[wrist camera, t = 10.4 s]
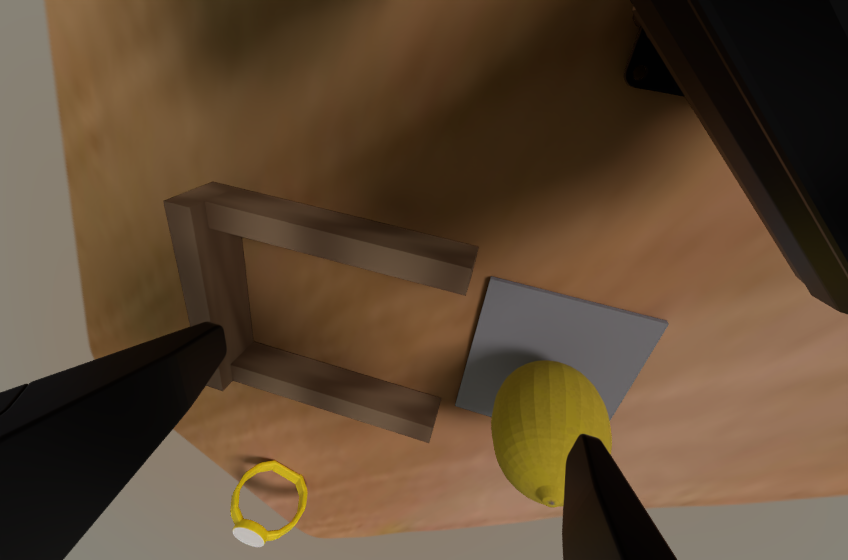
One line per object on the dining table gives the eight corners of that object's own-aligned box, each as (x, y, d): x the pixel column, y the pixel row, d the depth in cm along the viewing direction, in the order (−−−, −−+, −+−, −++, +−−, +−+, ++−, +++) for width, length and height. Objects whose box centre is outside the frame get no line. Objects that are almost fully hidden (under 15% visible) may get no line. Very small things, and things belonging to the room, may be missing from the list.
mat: (666, 320, 20) (668, 324, 19) (592, 443, 25) (593, 447, 25) (490, 276, 21) (490, 278, 21) (455, 402, 26) (454, 405, 26)
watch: (320, 477, 35) (289, 548, 30) (310, 489, 37) (279, 560, 32) (259, 447, 35) (218, 516, 30) (252, 461, 36) (211, 529, 31)
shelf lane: (478, 246, 20) (468, 279, 17) (437, 413, 27) (425, 456, 24) (212, 181, 22) (163, 200, 19) (236, 351, 29) (203, 384, 26)
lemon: (607, 399, 23) (637, 546, 16) (513, 408, 25) (504, 541, 18) (587, 322, 20) (612, 454, 14) (486, 339, 23) (464, 460, 16)
